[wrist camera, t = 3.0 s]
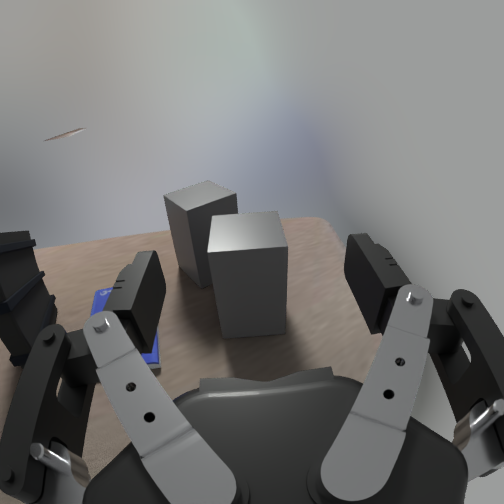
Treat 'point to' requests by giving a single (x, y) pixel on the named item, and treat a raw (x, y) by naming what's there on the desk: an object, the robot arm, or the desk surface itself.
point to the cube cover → (249, 273)
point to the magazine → (22, 296)
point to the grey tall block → (196, 225)
